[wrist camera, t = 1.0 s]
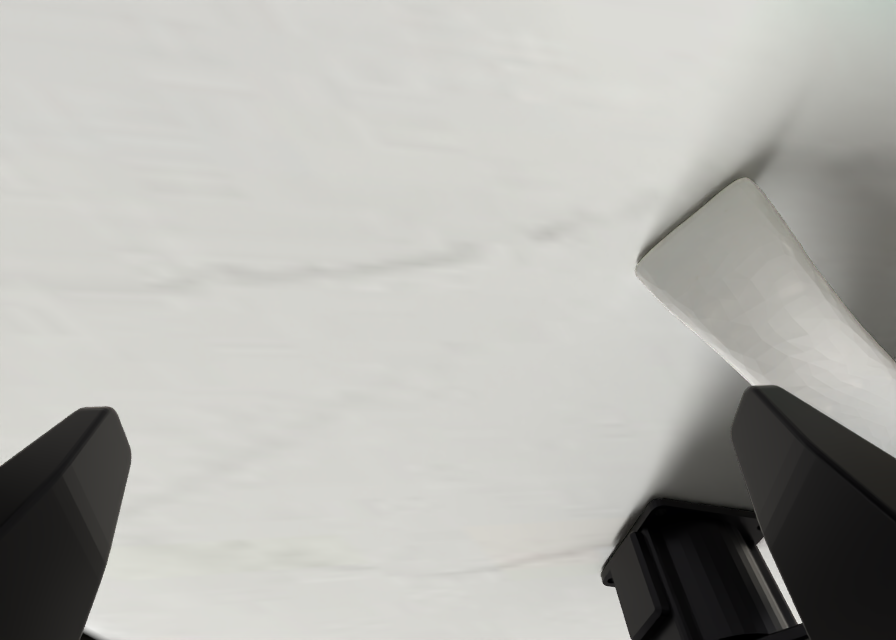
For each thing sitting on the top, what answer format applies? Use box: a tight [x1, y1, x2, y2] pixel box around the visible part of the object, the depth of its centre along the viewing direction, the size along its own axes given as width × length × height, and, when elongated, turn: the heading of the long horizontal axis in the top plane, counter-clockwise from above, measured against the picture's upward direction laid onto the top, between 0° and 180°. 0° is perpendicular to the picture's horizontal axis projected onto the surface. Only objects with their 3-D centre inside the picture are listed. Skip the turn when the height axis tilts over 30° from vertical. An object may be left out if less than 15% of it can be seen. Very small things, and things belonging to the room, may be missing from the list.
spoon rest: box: [635, 177, 896, 458], centre depth 24 cm, size 24×12×7 cm, turn 48°
